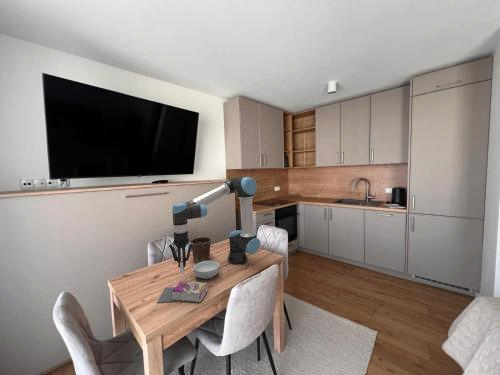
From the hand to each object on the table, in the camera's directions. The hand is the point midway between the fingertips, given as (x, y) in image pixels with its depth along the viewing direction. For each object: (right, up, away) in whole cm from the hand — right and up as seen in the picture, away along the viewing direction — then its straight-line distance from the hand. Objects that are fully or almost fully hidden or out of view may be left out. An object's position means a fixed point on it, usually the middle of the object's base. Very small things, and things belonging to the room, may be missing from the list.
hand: (182, 272), depth 114 cm
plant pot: (0, -9, +45) cm, 46 cm away
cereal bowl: (+9, -11, +21) cm, 25 cm away
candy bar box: (-3, -9, 0) cm, 10 cm away
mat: (-1, -12, +1) cm, 12 cm away
